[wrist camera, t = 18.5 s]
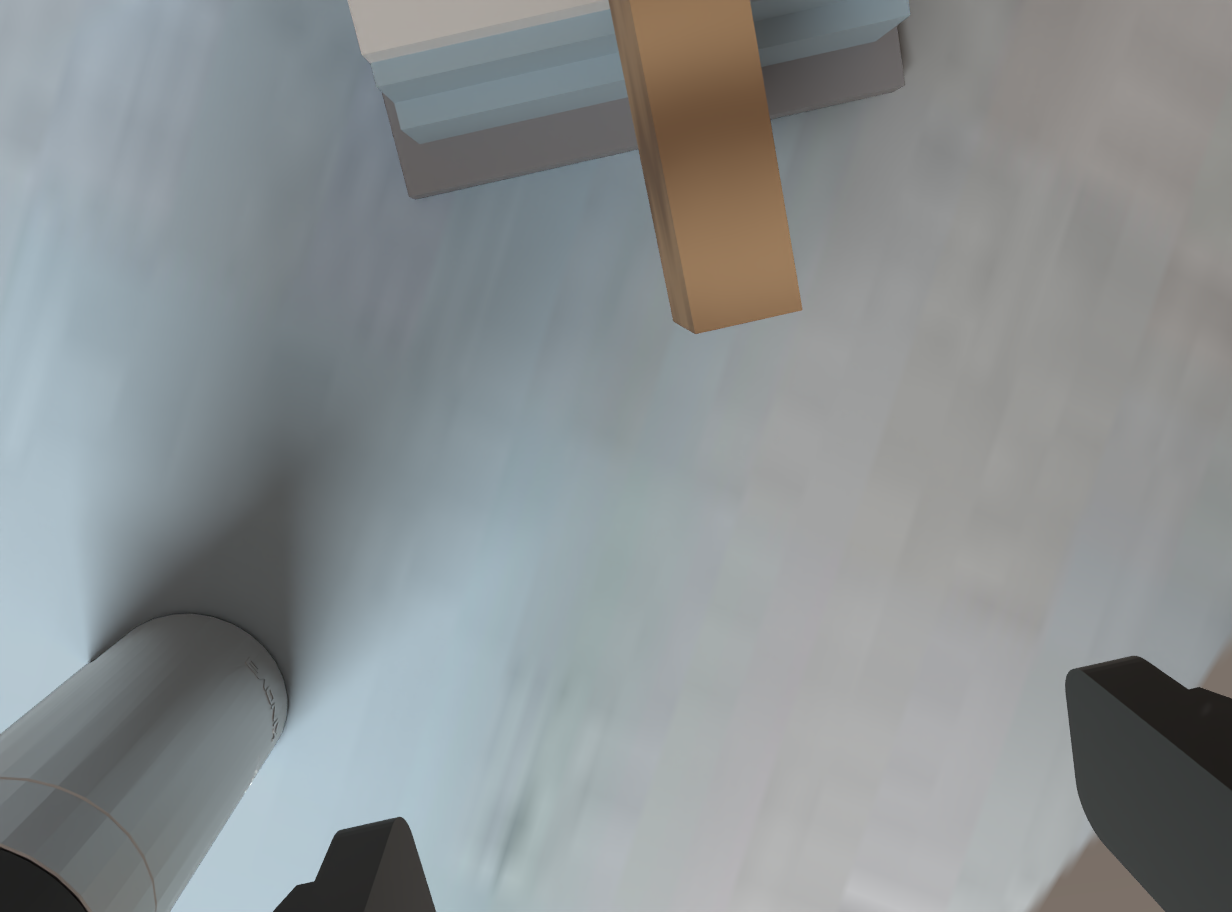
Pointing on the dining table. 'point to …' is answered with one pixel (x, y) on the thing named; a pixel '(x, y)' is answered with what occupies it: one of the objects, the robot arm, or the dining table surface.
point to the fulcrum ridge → (580, 77)
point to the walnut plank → (708, 159)
